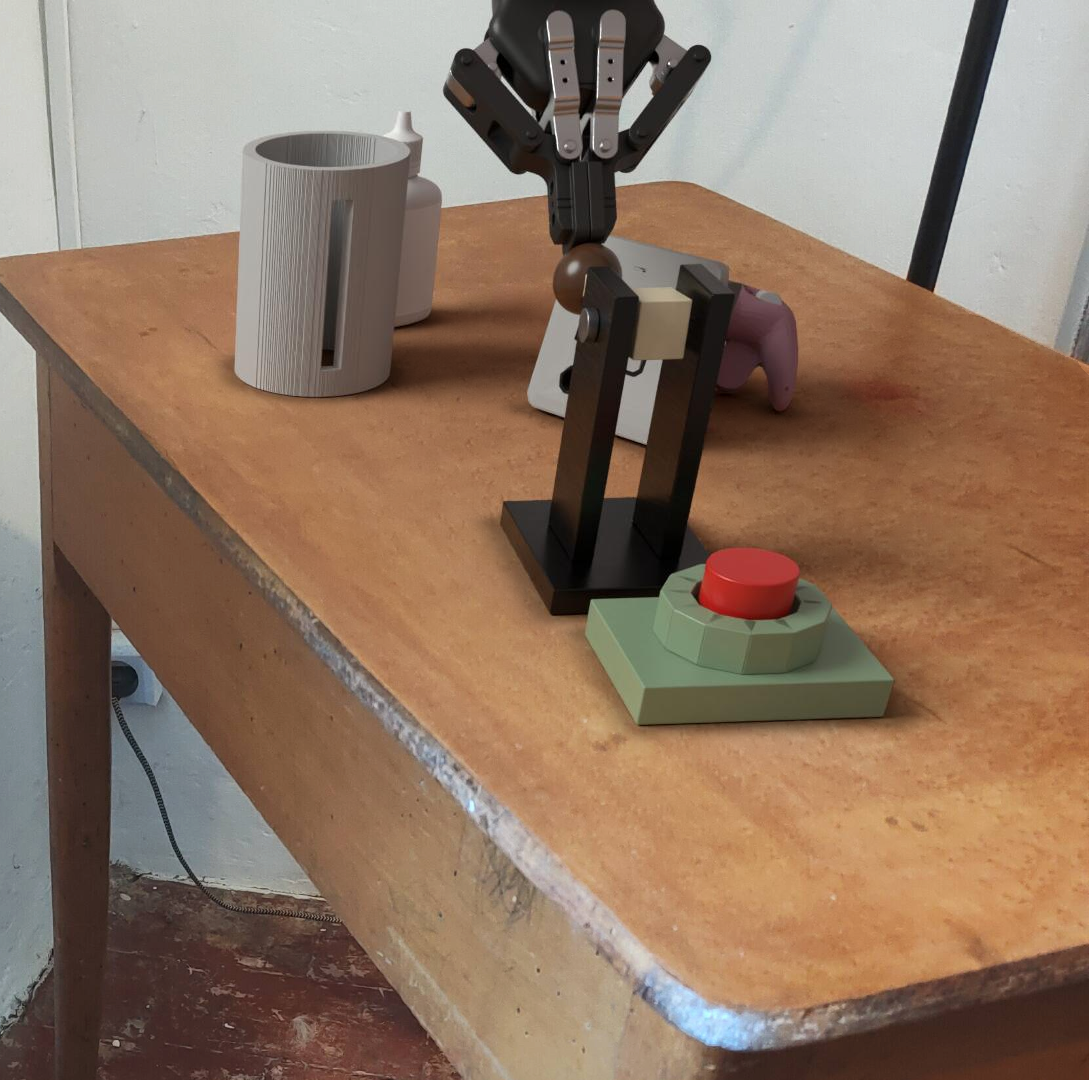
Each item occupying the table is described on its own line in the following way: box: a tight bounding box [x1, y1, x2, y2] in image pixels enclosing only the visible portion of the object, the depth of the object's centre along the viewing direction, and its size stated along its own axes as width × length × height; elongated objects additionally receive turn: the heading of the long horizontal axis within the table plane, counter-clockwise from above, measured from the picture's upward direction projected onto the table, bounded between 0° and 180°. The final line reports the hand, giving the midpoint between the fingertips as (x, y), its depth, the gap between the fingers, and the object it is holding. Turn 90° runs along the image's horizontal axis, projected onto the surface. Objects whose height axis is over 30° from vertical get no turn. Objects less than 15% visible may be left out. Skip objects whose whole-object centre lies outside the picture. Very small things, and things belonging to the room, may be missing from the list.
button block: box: [584, 564, 895, 726], centre depth 72 cm, size 10×8×4 cm
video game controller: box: [715, 281, 799, 412], centre depth 98 cm, size 10×5×7 cm, turn 79°
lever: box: [552, 243, 692, 360], centre depth 79 cm, size 13×3×3 cm, turn 2°
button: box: [699, 547, 801, 620], centre depth 70 cm, size 4×4×2 cm
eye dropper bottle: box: [382, 109, 443, 328], centre depth 107 cm, size 4×6×12 cm
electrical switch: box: [526, 234, 743, 446], centre depth 94 cm, size 9×5×9 cm, turn 39°
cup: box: [234, 130, 411, 398], centre depth 99 cm, size 9×9×12 cm
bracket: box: [499, 264, 735, 615], centre depth 78 cm, size 10×8×13 cm
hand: (584, 248), depth 83 cm, fingers closed
